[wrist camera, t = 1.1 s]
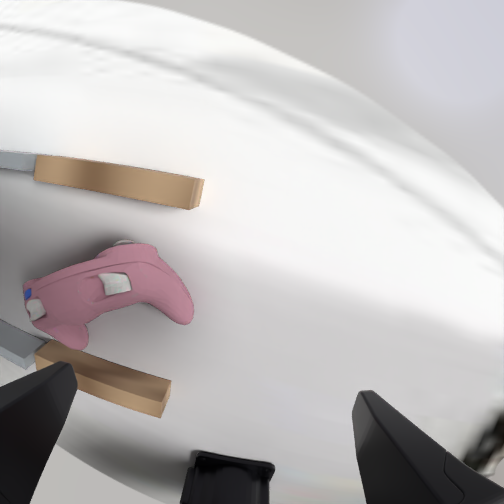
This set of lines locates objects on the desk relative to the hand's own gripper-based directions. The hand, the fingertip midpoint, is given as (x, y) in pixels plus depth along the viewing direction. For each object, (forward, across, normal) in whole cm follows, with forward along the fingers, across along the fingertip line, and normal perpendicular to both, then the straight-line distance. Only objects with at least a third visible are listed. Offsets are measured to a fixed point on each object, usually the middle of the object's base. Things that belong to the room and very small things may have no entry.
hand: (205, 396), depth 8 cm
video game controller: (+10, +8, +2) cm, 13 cm away
